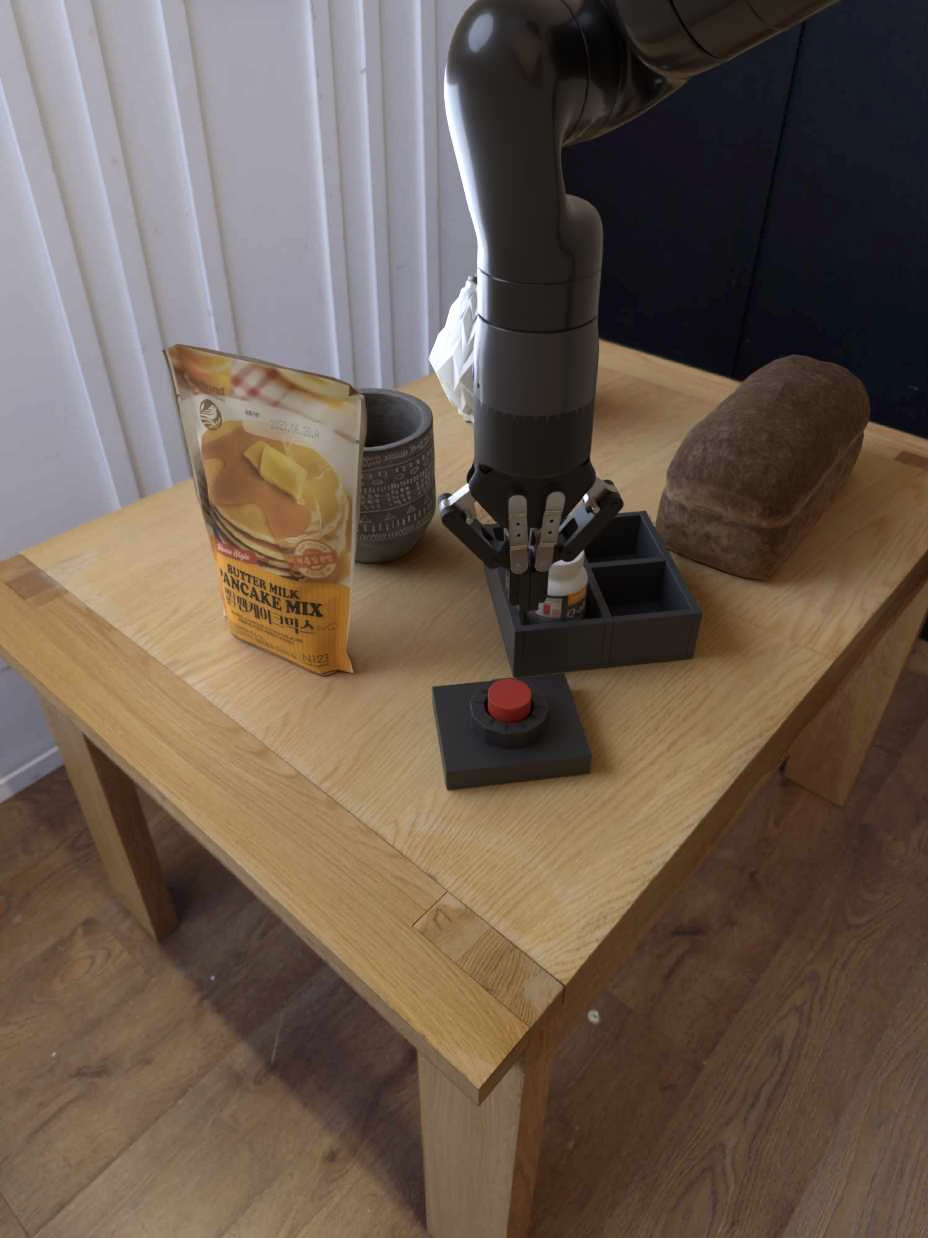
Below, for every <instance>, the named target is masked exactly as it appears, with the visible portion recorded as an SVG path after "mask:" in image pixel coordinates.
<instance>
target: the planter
mask: <svg viewBox="0 0 928 1238" xmlns="http://www.w3.org/2000/svg"><path fill="white" fill-rule="evenodd" d="M354 389H355V390H356V391H357V392H359V393H360V394H362V395H363V396H364V398H365V405H366V412H367V433H366V439H365V444H364V450H363V461H362V475H361V495H360V518H359V522H358V527H357V543H356V554H355V563H361V564H380V563H385V562H389V561H394V560H396V559H398V558H401V557H403V556H405V555H406V554H408V553H409V552H410V551H411V550H413V548H414V547H415V545H416V544H417V543H418V542H419V540H420V539H421V537H422V536H423V535H424V534H425V532H426V530H427V529H428V527H429V525H430V524H431V522H432V521H433V518H434V516H435V514H436V509H437V488H436V487H437V485H436V475H435V474H436V458H435V457H436V455H435V438H434V437H435V435H434V415H433V411H432V409H431V407H430V406H429V405H428V404H427V403H426V402H424V401H423V400H422V399H421V398H419V397H417V396H414V395H412V394H409V393H406V392H403V391H399V390H394V389H387V388H375V387H367V388H365V387H364V388H354Z"/></svg>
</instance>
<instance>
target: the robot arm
mask: <svg viewBox="0 0 928 1238" xmlns="http://www.w3.org/2000/svg"><path fill="white" fill-rule="evenodd" d="M841 2H842V0H475V1H474V2H473V3H472V4H470V6H468V8H467V9H466V10H465V11H464V12H463V15H462V16H461V17H460V19H459V21H458V23H457V25H456V26H455V29H454V32H453V35H452V37H451V40H450V44H449V47H448V51H447V56H446V61H445V69H444V75H443V76H444V78H443V97H444V99H443V100H444V108H445V115H446V121H447V127H448V130H449V135H450V139H451V142H452V146H453V150H454V154H455V159H456V163H457V166H458V171H459V174H460V178H461V182H462V186H463V191H464V195H465V200H466V203H467V207H468V211H469V214H470V216H471V221H472V225H473V227H474V232H475V236H476V242H477V251H476V253H477V254H476V255H477V256H476V262H477V263H476V273H477V308H478V311H477V324H476V332H475V339H474V352H473V365H472V378H473V383H474V424H473V460H472V463H471V466H470V467H469V469H468V471H467V472H466V484H465V485H463V486H462V487H461V488H460V489H458V490H457V491H456V492H454V493H450V492H443V493H441V494H440V495H439V496H438V498H437V500H436V503H437V507H438V510H439V515H440V520H441V523H442V525H443V526H444V527H445V528H446V529H447V530H449V532H450V533H451V534H452V535H453V536H454V537H456V539H457V540H459V542H460V543H462V544H463V546H465V547H466V548H467V549H468V550H469V551H470V552H471V553H472V554H473V555H474V556H475V557H477V559H479V560H480V562H481V563H483V565H484V564H485V565H486V566H487V567H488V568H491V569H496V568H498V567H504V568H506V592H507V596H508V599H509V602H510V604H511V606H517V609H518V612H527V611H536V610H538V609H539V603H544V602H545V600H546V599H547V594H548V577H549V569H550V568H551V566H552V564H554V563H555V562H558V561H560V560H562V561H564V562H571V561H573V560H574V559H575V558H576V557H577V556H578V555H579V554H580V553H581V552H582V551H583V550H584V549H585V548H586V547H587V546H588V545H589V543H590V542H591V541H592V540H593V539H594V538H595V537H596V536H597V535H598V534H599V533H600V532H601V531H602V530H603V528H604V527H605V526H606V525H607V524H608V523H609V522H610V521H611V520H612V519H613V518H614V517H615V516H616V515H617V514H618V513H620V512H621V511H622V509H624V504H625V502H624V500H623V499H622V496H621V493H620V492H619V489H618V488H617V486H616V485H615V483H614V482H613V481H612V480H611V479H601V478H599V477H598V476H597V473H596V469H595V467H594V466H593V463H592V461H591V453H592V442H593V432H594V431H593V430H594V420H595V419H594V418H595V407H596V395H597V385H598V375H599V374H598V372H599V360H600V336H599V335H600V334H599V307H600V295H601V286H602V285H601V284H602V283H601V281H602V272H603V259H604V238H605V237H604V225H603V224H604V223H603V219H602V216H601V215H600V213H599V211H598V210H597V208H596V207H595V206H594V205H593V204H591V202H589V201H588V200H586V199H585V198H582V197H580V196H577V195H573V194H569V193H567V192H566V187H565V181H564V176H563V175H564V174H563V169H562V149H563V148H567V147H570V146H574V145H577V144H581V143H584V142H588V141H591V140H594V139H596V138H599V137H601V136H604V135H606V134H608V133H610V132H612V131H614V130H616V129H618V128H620V127H622V126H623V125H625V124H627V123H630V122H631V121H633V120H635V119H636V118H638V117H640V116H641V115H642V114H644V113H647V112H648V111H649V110H651V109H652V108H653V107H655V106H656V105H658V104H659V103H661V102H662V101H663V100H665V99H666V98H668V97H669V96H671V95H672V94H673V93H675V92H676V91H678V90H679V89H680V88H682V87H683V86H685V85H686V84H687V83H688V82H690V81H691V80H692V79H693V78H694V77H695V76H698V75H700V74H703V73H705V72H708V71H710V70H713V69H715V68H718V67H720V66H722V65H724V64H726V63H729V62H730V61H732V60H734V59H736V58H738V57H740V56H742V55H744V54H745V53H747V52H750V51H751V50H753V49H755V48H757V47H759V46H760V45H763V44H765V43H767V42H768V41H770V40H772V39H775V38H776V37H778V36H780V35H781V34H783V33H786V32H787V31H789V30H791V29H792V28H795V27H797V26H798V25H801V24H802V23H804V22H806V21H808V20H810V19H811V18H814V17H815V16H817V15H819V14H820V13H823V12H824V11H825V10H827V9H829V8H832V7H833V6H835V5H836V4H839V3H841ZM475 502H477V503H478V504H479V505H480V507H481V508H482V509H483V510H484V511H485V512H486V513H487V515H489V517H490V518H491V519H492V520H493V521H494V522H495V523H497V524H498V525H500V526H501V527H503V529H504V540H505V542H503V541H498V540H497V539H496V538H495V537H494V536H493V535H492V534H491V533H490V532H489V531H488V530H487V529H486V528H485V527H484V524H482V522H481V521H480V520H479V519H478V518H477V517H478V514H477V510H476V507H475ZM580 502H581V503H580ZM579 503H580V504H579ZM578 504H579V505H578ZM573 510H574V511H573ZM566 517H568V518H567V519H566V520H565V522H564V523H563V524H562V525H561V526H560V522H562V521H563V520H564V519H565V518H566ZM527 529H530V536H529V544H528V531H527ZM527 547H528V548H529V555H528V554H527Z"/></svg>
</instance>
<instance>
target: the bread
mask: <svg viewBox="0 0 928 1238" xmlns="http://www.w3.org/2000/svg"><path fill="white" fill-rule="evenodd" d="M871 410H872V408H871V403H870V396H869V393H868V391H867V389H866V388H865V386H864V383H863V382H862V380H861V379H859V378H858V377H857V376H856V375H855V374H854V373H852V372H851V371H850V370H849V369H848V368H846V367H844V366H841V365H839V364H837V363H835V362H831V361H830V362H829V361H823V360H819V359H816V358H813V357H810V356H807V355H802V354H801V355H800V354H790V355H788V356H783V357H779V358H775V359H774V360H772V361H770V362H769V363H767V364H764V366H762V367H760V368H759V369H757V370H755V371H754V372H753V373H751V374H750V375H749V376H747V377H746V378H745V379H744V380H742V381H741V383H740V384H739V385H738V386H737V387H736V389H734V391H733V392H732V393H730V394H729V395H728V396H727V397H725V398H724V399H723V400H722V401H721V402H720V403H719V404H718V405H717V406H716V407H715V408H714V409H713V410H711V411H710V412H709V413H708V414H707V415H706V416H705V417H703V418H702V419H701V420H699V421H698V422H697V423H696V424H695V425H694V426H693V427H692V428H691V429H689V430H688V432H687V433H686V435H685V436H684V438H683V439H682V441H681V443H680V445H679V446H678V448H677V450H676V451H675V454H674V455H673V457H672V459H671V461H670V463H669V465H668V467H667V470H666V477H665V485H664V487H663V491H662V493H661V496H660V498H659V504H658V508H657V511H656V519H655V524H654V526H655V528H656V530H657V532H658V534H659V536H660V537H661V539H662V541H663V543H664V545H665V546H666V548H667V550H669V551H672V552H674V553H676V554H679V555H682V556H684V557H686V558H688V559H690V560H693V561H696V562H699V563H701V564H704V565H707V566H709V567H712V568H713V569H716V570H719V571H722V572H726V573H728V574H731V575H735V576H738V577H741V578H747V579H751V580H753V579H754V580H768V579H769V577H770V576H771V575H772V574H773V572H774V571H776V569H778V567H779V566H780V565H781V564H782V563H783V562H784V561H785V560H786V559H787V557H788V556H789V555H790V553H791V552H792V551H793V550H794V548H795V547H796V546H797V545H798V544H799V542H800V541H801V540H802V539H803V537H805V535H806V534H807V533H808V532H809V531H810V529H811V527H812V526H813V525H814V524H815V522H816V521H817V520H818V519H819V518H820V516H822V514H823V513H824V511H825V510H826V508H827V507H828V506H829V505H830V504H831V502H832V501H833V499H834V498H835V497H836V495H837V493H838V492H839V491H840V489H841V488H842V486H843V485H844V484H845V483H846V482H847V480H848V479H849V477H850V476H851V474H852V472H853V470H854V468H855V466H856V464H857V461H858V458H859V455H860V454H861V450H862V447H863V442H864V437H865V430H866V428H867V427H868V425H869V422H870V417H871V416H870V415H871Z"/></svg>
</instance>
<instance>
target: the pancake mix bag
mask: <svg viewBox="0 0 928 1238" xmlns="http://www.w3.org/2000/svg"><path fill="white" fill-rule="evenodd" d="M161 352H162V354H163V356H164V358H165V361H166V365H167V368H168V371H169V375H170V379H171V383H172V387H173V392H174V397H175V403H176V406H177V410H178V414H179V417H180V421H181V426H182V430H183V431H182V432H183V436H184V442H185V448H186V453H187V456H188V460H189V463H190V467H191V475H192V481H193V485H194V490H195V496H196V499H197V502H198V504H199V505H198V506H199V508H200V511H201V514H202V519H203V522H204V525H205V529H206V532H207V536H208V539H209V544H210V548H211V552H212V555H213V558H214V561H215V562H214V563H215V567H216V571H217V578H218V587H219V588H218V589H219V592H220V598H221V603H222V616H223V617H224V618H226V619H227V625H228V629H229V632H230V633H231V634H232V635H233V636H234V637H235V638H237V639H239V640H240V641H242V642H244V643H247V644H248V645H251V646H253V647H254V648H257V649H259V650H261V651H263V652H265V653H268V654H270V655H273V656H275V657H277V658H279V659H282V660H284V661H286V662H288V663H290V664H292V665H294V666H296V667H298V668H299V669H303V670H305V671H307V672H309V673H312V674H315V675H318V676H321V677H326V676H327V675H330V674H333V673H336V672H338V671H340V672H346V673H350V674H355V672H354V670H353V665H352V662H351V658H350V654H349V652H348V649H347V647H348V641H349V640H348V639H349V633H350V626H351V625H350V623H351V618H352V603H353V601H352V600H353V584H354V574H355V563H356V562H355V554H356V543H357V527H358V522H359V518H360V495H361V475H362V461H363V450H364V444H365V439H366V433H367V412H366V405H365V398H364V396H363V395H362V394H360V393H359V392H357V391H356V390H355V389H356V388H354V387H353V386H352V385H351V384H350V383H349V382H347V381H345V380H342V379H340V378H337V377H334V376H330V375H325V374H321V373H317V372H313V371H307V370H304V369H298V368H292V367H287V366H284V365H280V364H278V363H274V362H270V361H266V360H263V359H260V358H256V357H252V356H246V355H240V354H238V353H237V354H236V353H232V352H227V351H220V350H216V349H212V348H207V347H200V346H194V345H188V344H183V343H182V344H181V343H176V344H173V345H171V346H169V347H167V348H165V349H162V350H161Z"/></svg>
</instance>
